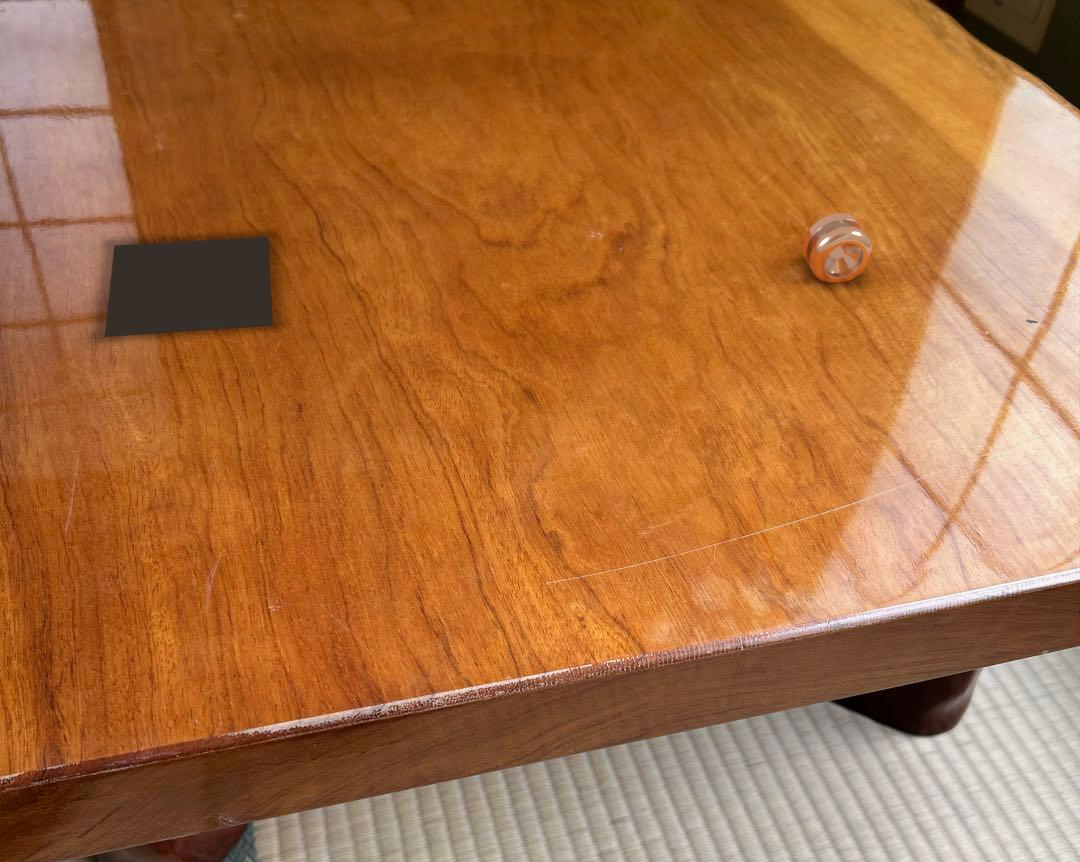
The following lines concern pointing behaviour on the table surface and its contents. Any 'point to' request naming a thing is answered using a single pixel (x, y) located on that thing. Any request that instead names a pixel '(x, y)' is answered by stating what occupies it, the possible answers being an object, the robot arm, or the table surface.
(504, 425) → the table surface
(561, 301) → the table surface
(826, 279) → the metal grooved wheel
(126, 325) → the mat
